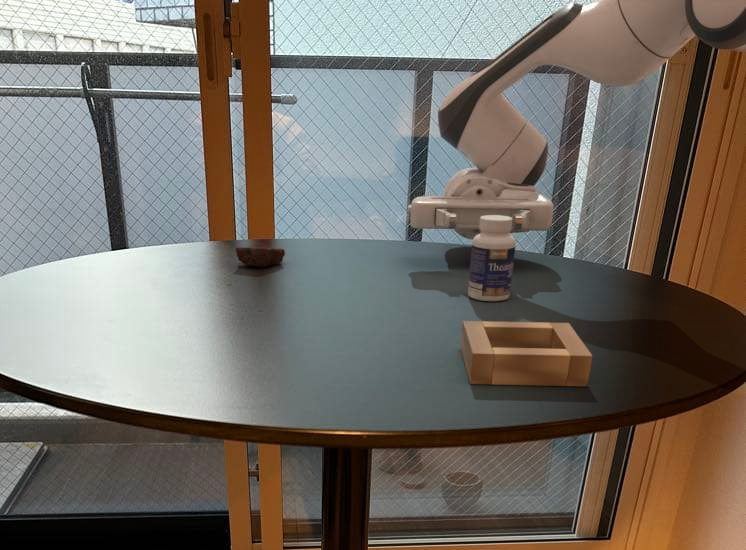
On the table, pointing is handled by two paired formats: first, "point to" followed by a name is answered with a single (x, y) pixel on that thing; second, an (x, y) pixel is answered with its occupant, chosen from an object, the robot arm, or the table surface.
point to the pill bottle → (492, 259)
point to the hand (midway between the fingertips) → (485, 222)
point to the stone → (260, 256)
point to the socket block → (524, 354)
